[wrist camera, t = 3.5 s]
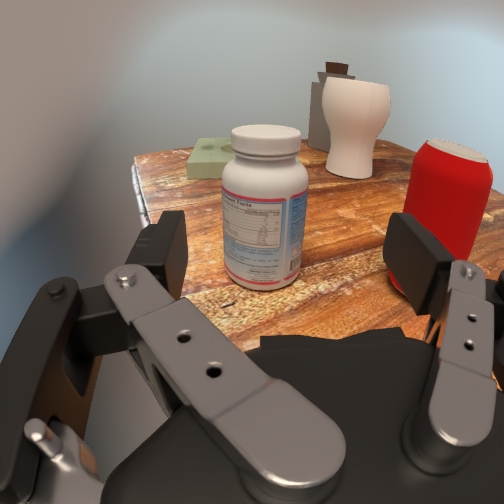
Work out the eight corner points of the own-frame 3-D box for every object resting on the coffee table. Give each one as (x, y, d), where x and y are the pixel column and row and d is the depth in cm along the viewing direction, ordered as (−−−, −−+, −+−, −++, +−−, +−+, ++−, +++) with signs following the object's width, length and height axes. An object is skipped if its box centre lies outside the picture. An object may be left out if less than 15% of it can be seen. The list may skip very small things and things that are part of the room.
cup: (375, 166, 53) (385, 85, 45) (385, 186, 45) (399, 88, 37) (317, 158, 55) (323, 76, 47) (315, 177, 46) (323, 76, 38)
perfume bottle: (327, 143, 67) (333, 63, 57) (352, 150, 62) (360, 66, 53) (307, 146, 63) (312, 60, 53) (334, 154, 59) (341, 62, 49)
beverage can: (461, 310, 22) (512, 169, 15) (397, 313, 22) (444, 153, 15) (433, 267, 27) (467, 143, 21) (376, 266, 27) (403, 130, 21)
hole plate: (187, 179, 45) (186, 162, 43) (199, 151, 58) (199, 138, 57) (300, 179, 45) (301, 162, 44) (285, 151, 59) (285, 138, 57)
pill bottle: (271, 243, 30) (277, 120, 24) (314, 278, 25) (332, 136, 19) (211, 261, 27) (205, 126, 21) (248, 304, 23) (250, 143, 17)
